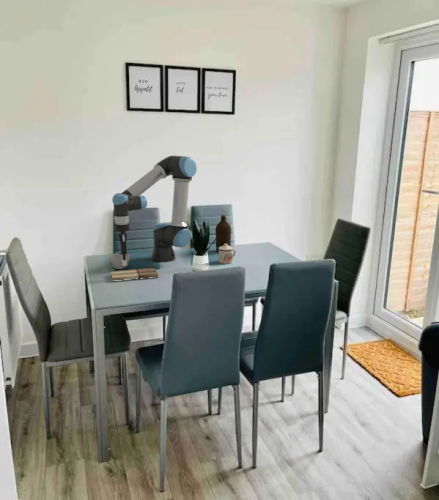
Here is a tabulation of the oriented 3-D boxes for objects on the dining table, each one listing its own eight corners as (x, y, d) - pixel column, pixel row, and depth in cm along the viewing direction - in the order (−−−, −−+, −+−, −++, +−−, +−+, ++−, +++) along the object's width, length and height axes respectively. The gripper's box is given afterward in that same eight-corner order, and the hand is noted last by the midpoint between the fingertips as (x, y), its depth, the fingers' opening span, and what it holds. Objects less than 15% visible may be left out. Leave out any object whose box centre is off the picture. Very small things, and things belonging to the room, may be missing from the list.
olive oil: (233, 250, 302) (234, 214, 296) (226, 254, 293) (226, 217, 287) (220, 248, 307) (220, 213, 301) (212, 252, 299) (212, 215, 292)
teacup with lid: (223, 265, 270) (224, 246, 267) (215, 261, 277) (215, 243, 274) (239, 261, 277) (239, 243, 274) (230, 258, 284) (230, 240, 281)
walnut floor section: (137, 273, 254) (136, 269, 253) (154, 271, 257) (154, 267, 256) (140, 279, 243) (139, 275, 242) (158, 277, 246) (158, 273, 245)
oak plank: (110, 275, 249) (110, 271, 249) (135, 273, 254) (135, 269, 253) (112, 282, 238) (112, 278, 238) (138, 279, 242) (138, 275, 242)
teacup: (134, 268, 261) (134, 255, 259) (115, 273, 254) (114, 259, 252) (122, 263, 272) (121, 250, 270) (103, 266, 265) (102, 254, 263)
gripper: (113, 221, 243) (116, 262, 249) (115, 226, 231) (118, 269, 237) (127, 220, 245) (130, 261, 251) (130, 225, 233) (132, 268, 239)
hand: (124, 265), depth 244 cm, fingers closed
